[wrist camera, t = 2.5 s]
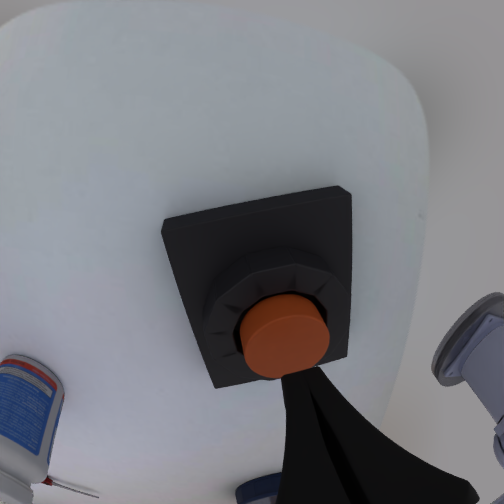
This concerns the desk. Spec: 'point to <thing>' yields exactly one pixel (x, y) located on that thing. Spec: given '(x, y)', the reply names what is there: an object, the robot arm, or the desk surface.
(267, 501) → the tin lid
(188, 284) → the control block
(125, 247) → the desk surface
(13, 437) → the pill bottle
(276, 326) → the button
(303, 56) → the desk surface
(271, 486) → the tin
